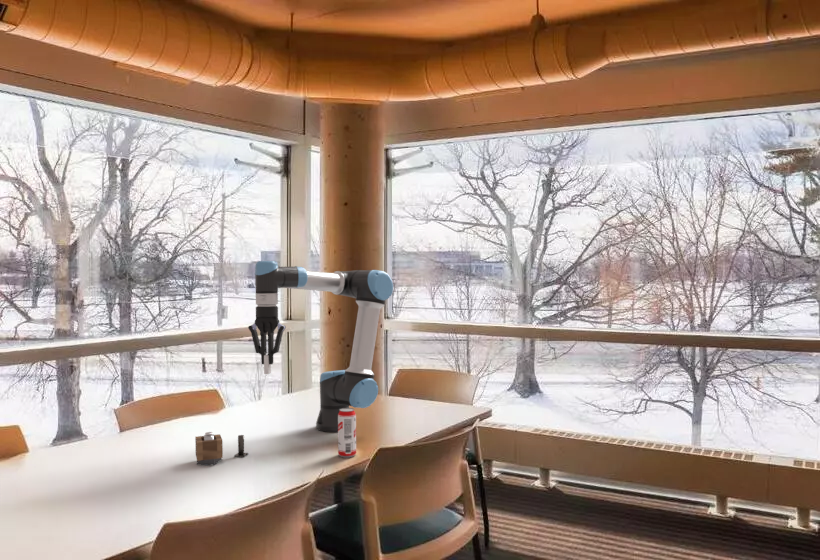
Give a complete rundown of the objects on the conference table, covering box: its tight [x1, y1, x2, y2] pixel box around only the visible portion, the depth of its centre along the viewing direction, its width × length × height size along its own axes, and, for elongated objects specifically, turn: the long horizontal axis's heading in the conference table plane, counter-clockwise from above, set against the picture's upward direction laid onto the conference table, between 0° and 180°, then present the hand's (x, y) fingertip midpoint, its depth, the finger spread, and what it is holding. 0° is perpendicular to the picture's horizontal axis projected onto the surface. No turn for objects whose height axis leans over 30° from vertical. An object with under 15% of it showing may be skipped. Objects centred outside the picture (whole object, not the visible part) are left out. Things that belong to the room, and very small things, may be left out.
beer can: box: [337, 407, 357, 459], centre depth 225 cm, size 6×6×16 cm
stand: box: [233, 434, 249, 458], centre depth 226 cm, size 4×4×7 cm
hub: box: [196, 431, 223, 466], centre depth 219 cm, size 6×6×10 cm
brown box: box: [195, 433, 224, 462], centre depth 219 cm, size 8×8×6 cm
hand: (267, 373), depth 226 cm, fingers closed
